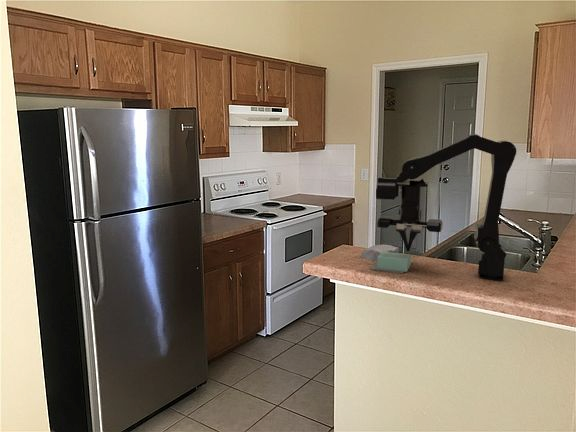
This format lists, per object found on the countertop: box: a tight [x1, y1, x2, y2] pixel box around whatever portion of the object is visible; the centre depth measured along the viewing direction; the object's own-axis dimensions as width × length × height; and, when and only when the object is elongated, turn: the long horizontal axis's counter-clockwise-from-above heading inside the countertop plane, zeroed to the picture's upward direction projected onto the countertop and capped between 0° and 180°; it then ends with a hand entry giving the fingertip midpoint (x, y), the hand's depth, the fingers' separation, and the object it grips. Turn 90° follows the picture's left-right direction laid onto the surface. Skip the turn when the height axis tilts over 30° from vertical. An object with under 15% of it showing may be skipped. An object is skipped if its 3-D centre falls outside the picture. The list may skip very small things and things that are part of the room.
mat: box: [370, 261, 405, 274], centre depth 150 cm, size 10×8×1 cm
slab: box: [376, 252, 412, 273], centre depth 149 cm, size 4×7×9 cm
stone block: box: [360, 244, 400, 262], centre depth 163 cm, size 12×5×10 cm
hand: (408, 251), depth 147 cm, fingers closed
